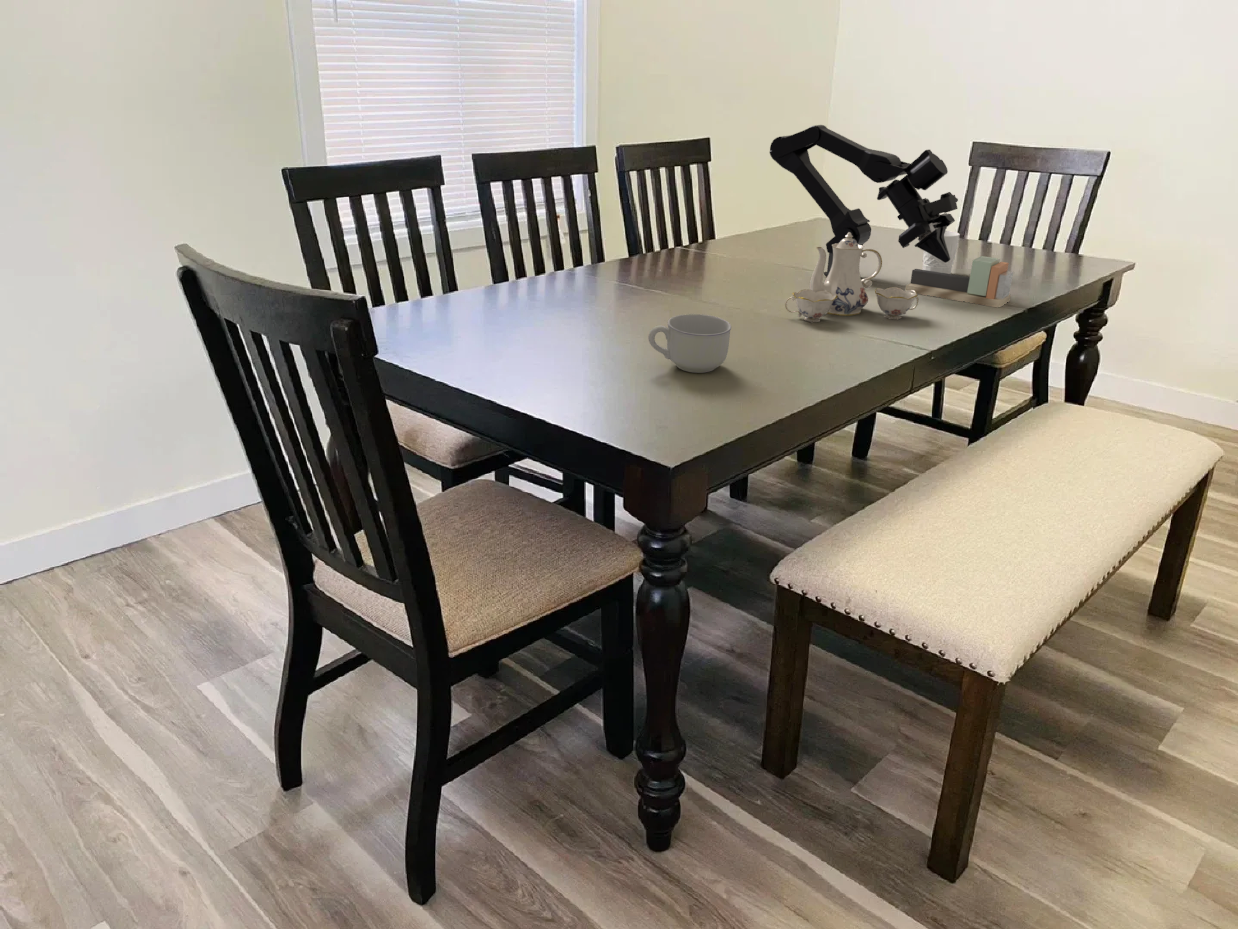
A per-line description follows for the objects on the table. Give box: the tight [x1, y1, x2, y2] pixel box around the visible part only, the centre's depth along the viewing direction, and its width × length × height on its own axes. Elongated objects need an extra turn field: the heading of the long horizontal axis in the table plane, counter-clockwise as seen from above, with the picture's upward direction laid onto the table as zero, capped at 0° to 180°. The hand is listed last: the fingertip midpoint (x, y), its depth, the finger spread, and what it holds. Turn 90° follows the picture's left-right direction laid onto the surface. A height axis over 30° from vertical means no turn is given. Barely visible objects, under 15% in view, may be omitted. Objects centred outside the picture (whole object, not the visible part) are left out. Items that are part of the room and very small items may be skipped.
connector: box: [995, 270, 1014, 300], centre depth 198 cm, size 1×5×5 cm, turn 142°
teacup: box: [648, 313, 732, 374], centre depth 155 cm, size 14×11×8 cm
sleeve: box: [967, 255, 1001, 296], centre depth 200 cm, size 4×6×7 cm
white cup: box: [921, 230, 961, 274], centre depth 223 cm, size 8×8×10 cm
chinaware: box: [784, 232, 919, 323], centre depth 187 cm, size 28×17×17 cm, turn 105°
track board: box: [904, 282, 1011, 308], centre depth 205 cm, size 21×7×2 cm, turn 52°
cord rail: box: [910, 268, 970, 292], centre depth 204 cm, size 20×2×3 cm, turn 52°
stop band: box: [986, 261, 1010, 299], centre depth 198 cm, size 2×6×7 cm, turn 142°
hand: (948, 261), depth 204 cm, fingers closed
